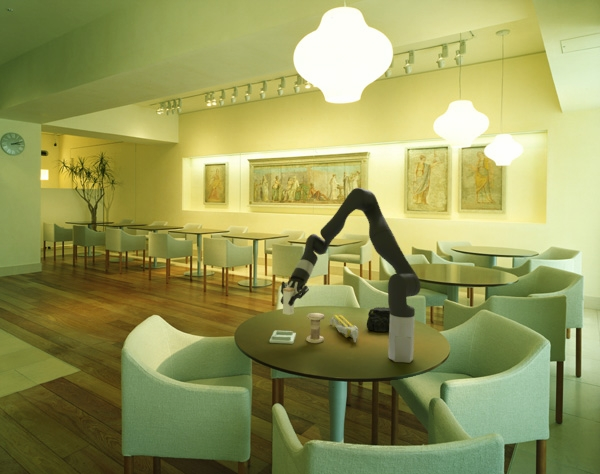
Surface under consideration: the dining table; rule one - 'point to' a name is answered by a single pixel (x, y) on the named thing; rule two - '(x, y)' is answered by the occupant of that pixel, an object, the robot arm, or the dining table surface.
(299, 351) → the dining table surface
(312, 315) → the bobbin
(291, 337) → the ridged board
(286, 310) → the block
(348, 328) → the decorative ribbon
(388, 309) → the rock
